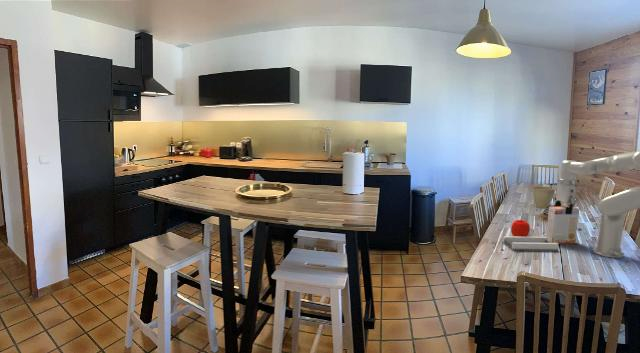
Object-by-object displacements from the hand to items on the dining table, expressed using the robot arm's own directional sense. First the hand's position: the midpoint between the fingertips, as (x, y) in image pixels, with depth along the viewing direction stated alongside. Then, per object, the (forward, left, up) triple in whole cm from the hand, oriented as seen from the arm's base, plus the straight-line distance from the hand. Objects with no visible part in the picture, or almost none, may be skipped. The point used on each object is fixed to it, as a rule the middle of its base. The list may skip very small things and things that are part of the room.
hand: (562, 211), depth 203 cm
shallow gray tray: (-8, +22, -18) cm, 30 cm away
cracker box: (0, 0, -18) cm, 18 cm away
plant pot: (+83, -38, -18) cm, 93 cm away
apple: (+3, +21, -18) cm, 28 cm away
